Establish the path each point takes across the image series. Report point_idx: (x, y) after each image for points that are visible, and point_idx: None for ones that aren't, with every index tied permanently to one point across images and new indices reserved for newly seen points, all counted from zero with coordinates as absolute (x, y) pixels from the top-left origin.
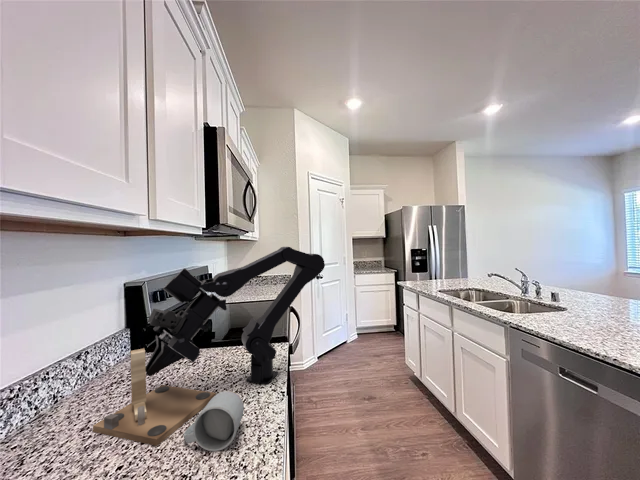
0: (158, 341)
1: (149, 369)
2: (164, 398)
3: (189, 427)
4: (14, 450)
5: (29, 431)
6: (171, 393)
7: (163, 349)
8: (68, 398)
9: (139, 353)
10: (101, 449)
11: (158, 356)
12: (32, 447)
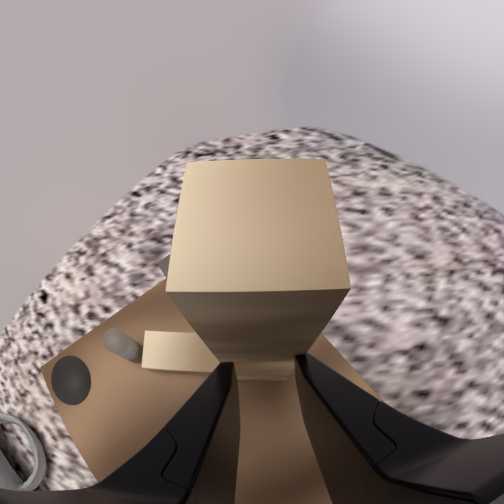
0: (431, 493)
1: (210, 377)
2: (279, 449)
3: (32, 443)
4: (261, 138)
5: (328, 145)
6: (308, 475)
7: (51, 491)
8: (454, 190)
9: (178, 234)
10: (129, 266)
11: (163, 451)
12: (251, 156)
